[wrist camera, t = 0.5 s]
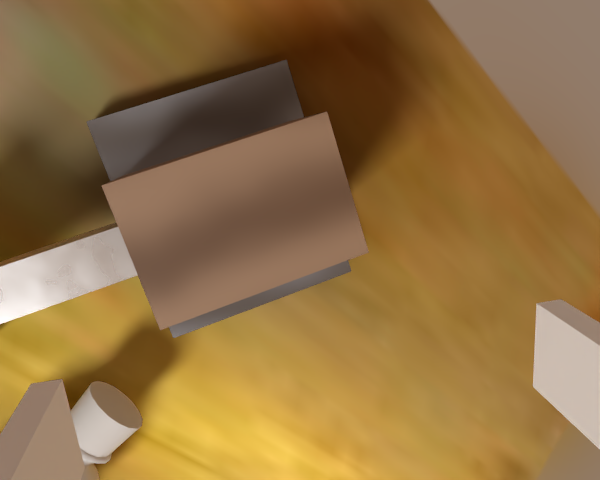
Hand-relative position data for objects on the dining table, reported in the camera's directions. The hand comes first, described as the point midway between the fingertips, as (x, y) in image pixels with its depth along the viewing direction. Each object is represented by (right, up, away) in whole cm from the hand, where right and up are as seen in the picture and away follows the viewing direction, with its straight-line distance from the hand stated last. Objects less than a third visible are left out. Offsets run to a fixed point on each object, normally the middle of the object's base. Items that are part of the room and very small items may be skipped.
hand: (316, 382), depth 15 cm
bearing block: (-6, +7, +25) cm, 26 cm away
